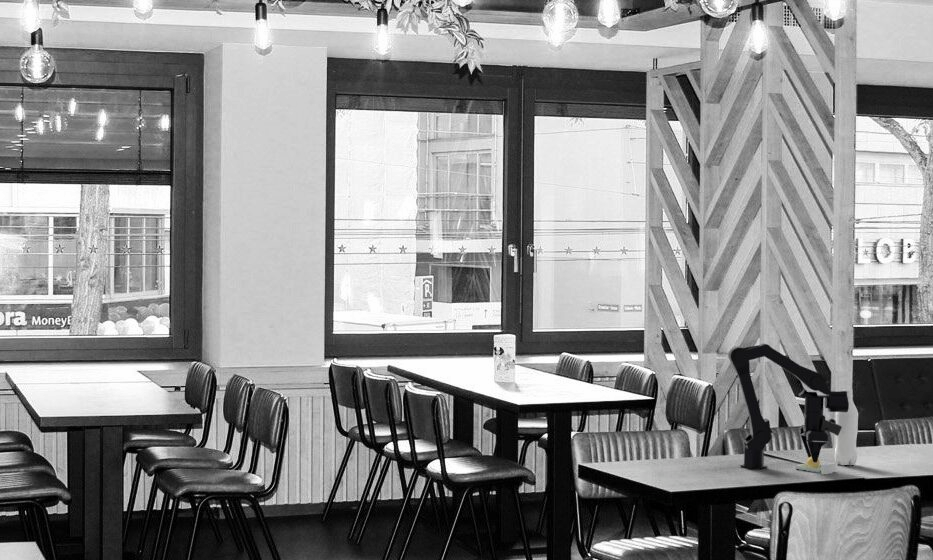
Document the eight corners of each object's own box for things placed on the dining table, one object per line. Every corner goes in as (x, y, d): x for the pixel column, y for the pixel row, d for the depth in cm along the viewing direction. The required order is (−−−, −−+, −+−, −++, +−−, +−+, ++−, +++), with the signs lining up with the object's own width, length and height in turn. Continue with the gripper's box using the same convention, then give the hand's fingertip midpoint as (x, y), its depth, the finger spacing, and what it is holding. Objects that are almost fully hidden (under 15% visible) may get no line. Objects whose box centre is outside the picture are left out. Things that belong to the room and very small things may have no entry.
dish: (816, 472, 369) (817, 468, 369) (795, 469, 375) (795, 465, 375) (829, 470, 374) (829, 466, 374) (808, 467, 380) (808, 463, 380)
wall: (824, 474, 366) (824, 465, 366) (821, 474, 367) (821, 464, 367) (835, 472, 371) (835, 463, 371) (832, 472, 372) (833, 462, 372)
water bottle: (858, 467, 383) (860, 390, 383) (835, 466, 384) (837, 389, 384) (855, 463, 390) (857, 388, 390) (833, 462, 391) (835, 387, 391)
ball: (820, 471, 373) (821, 460, 371) (807, 471, 373) (808, 459, 372) (818, 465, 376) (819, 454, 375) (805, 465, 377) (806, 454, 376)
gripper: (845, 415, 364) (844, 465, 364) (834, 409, 383) (833, 456, 383) (808, 414, 366) (807, 464, 366) (799, 407, 384) (798, 455, 384)
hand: (812, 460), depth 375 cm, fingers open, 9 cm apart
